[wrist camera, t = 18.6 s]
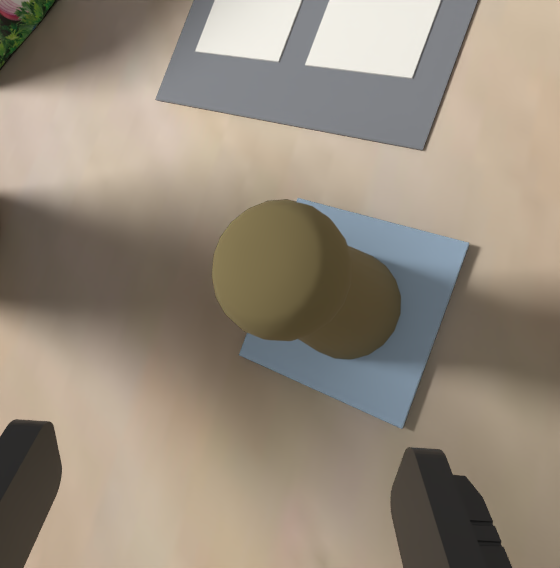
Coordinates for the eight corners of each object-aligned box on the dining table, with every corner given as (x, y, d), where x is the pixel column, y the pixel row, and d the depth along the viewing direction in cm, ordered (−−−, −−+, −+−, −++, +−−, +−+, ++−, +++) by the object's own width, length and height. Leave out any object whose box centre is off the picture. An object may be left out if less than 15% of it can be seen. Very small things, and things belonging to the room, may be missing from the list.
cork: (348, 229, 26) (269, 141, 16) (426, 305, 24) (390, 256, 14) (274, 303, 27) (157, 263, 17) (342, 383, 25) (252, 390, 15)
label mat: (156, 100, 34) (154, 98, 34) (218, -61, 35) (217, -64, 35) (422, 150, 26) (422, 149, 26) (501, -63, 26) (501, -66, 26)
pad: (242, 355, 28) (238, 355, 28) (300, 200, 28) (297, 198, 28) (403, 427, 24) (401, 428, 23) (469, 245, 24) (468, 242, 24)
